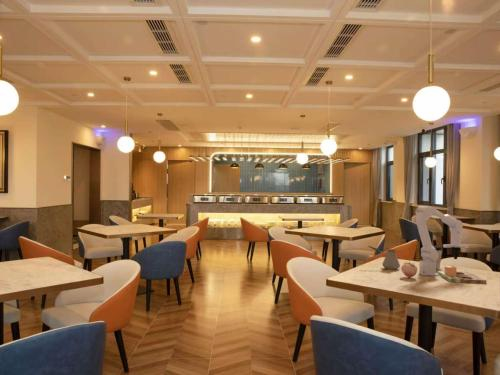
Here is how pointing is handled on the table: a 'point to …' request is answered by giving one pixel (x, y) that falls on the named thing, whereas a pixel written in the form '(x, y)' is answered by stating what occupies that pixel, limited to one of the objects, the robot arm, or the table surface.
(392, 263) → the coffee pot
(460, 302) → the table surface
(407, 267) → the decorative fruit
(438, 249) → the coffee cup
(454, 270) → the block
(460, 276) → the trap board
